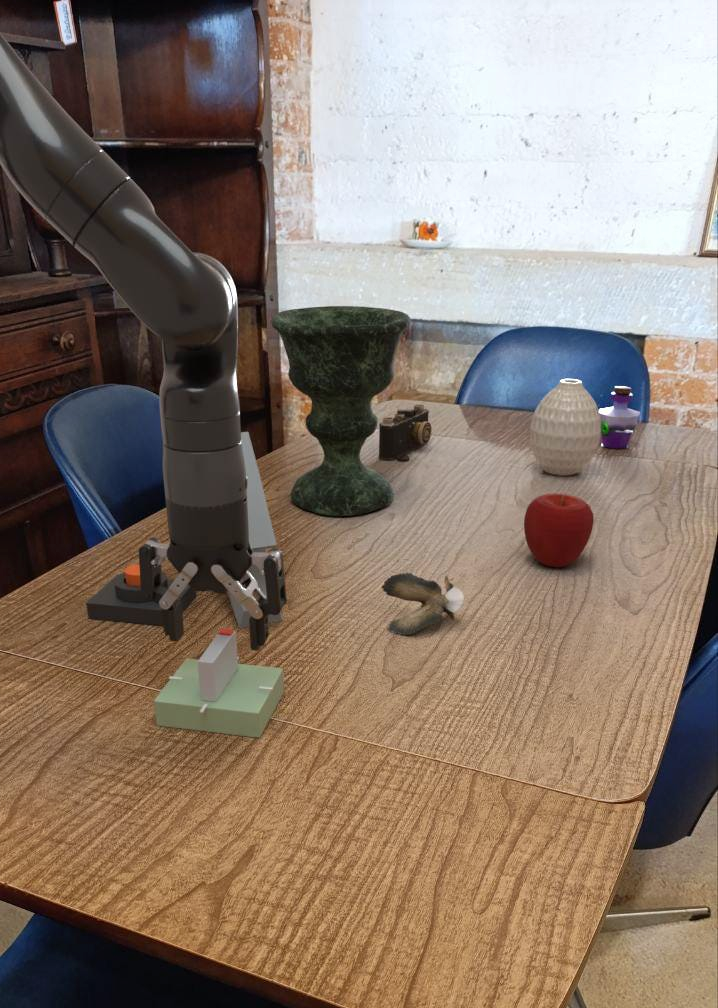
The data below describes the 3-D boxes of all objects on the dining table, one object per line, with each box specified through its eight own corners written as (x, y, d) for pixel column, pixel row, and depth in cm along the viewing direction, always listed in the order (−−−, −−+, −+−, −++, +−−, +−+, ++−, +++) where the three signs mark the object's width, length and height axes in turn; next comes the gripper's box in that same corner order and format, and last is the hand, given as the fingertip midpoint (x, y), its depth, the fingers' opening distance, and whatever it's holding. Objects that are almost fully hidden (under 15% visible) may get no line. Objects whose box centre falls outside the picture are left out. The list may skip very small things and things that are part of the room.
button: (121, 586, 110) (119, 573, 110) (133, 575, 114) (131, 562, 113) (148, 588, 110) (146, 576, 109) (159, 577, 113) (158, 564, 112)
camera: (403, 464, 169) (404, 422, 165) (373, 458, 172) (374, 418, 168) (442, 444, 181) (444, 405, 178) (414, 439, 185) (415, 401, 181)
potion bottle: (585, 446, 181) (593, 387, 175) (605, 437, 186) (612, 380, 181) (624, 454, 176) (633, 393, 170) (643, 445, 181) (652, 386, 176)
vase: (602, 466, 168) (615, 378, 160) (585, 485, 158) (597, 391, 150) (537, 457, 173) (546, 371, 165) (517, 475, 163) (525, 383, 155)
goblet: (258, 514, 144) (248, 322, 130) (302, 474, 163) (298, 303, 149) (388, 527, 139) (392, 329, 125) (418, 484, 158) (424, 308, 144)
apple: (589, 578, 122) (598, 509, 117) (519, 572, 124) (526, 505, 119) (586, 552, 130) (594, 487, 126) (521, 547, 132) (527, 483, 127)
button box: (88, 618, 110) (83, 589, 109) (119, 589, 118) (115, 561, 116) (170, 626, 109) (167, 597, 107) (196, 596, 116) (194, 568, 114)
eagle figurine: (433, 593, 115) (372, 593, 111) (458, 560, 109) (395, 560, 105) (451, 642, 111) (389, 644, 107) (478, 612, 106) (413, 613, 102)
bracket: (215, 675, 123) (238, 601, 100) (174, 508, 131) (186, 406, 108) (271, 664, 125) (305, 590, 103) (227, 501, 133) (250, 400, 111)
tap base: (151, 731, 88) (147, 705, 87) (191, 676, 98) (188, 651, 96) (257, 744, 86) (255, 717, 85) (288, 687, 96) (286, 662, 95)
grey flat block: (216, 702, 88) (212, 660, 85) (201, 700, 88) (197, 659, 86) (238, 667, 94) (235, 628, 91) (224, 666, 94) (221, 627, 92)
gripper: (116, 496, 79) (136, 653, 87) (268, 509, 77) (274, 668, 85) (149, 471, 86) (164, 619, 93) (290, 482, 83) (294, 632, 91)
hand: (217, 642), depth 89 cm, fingers open, 8 cm apart
